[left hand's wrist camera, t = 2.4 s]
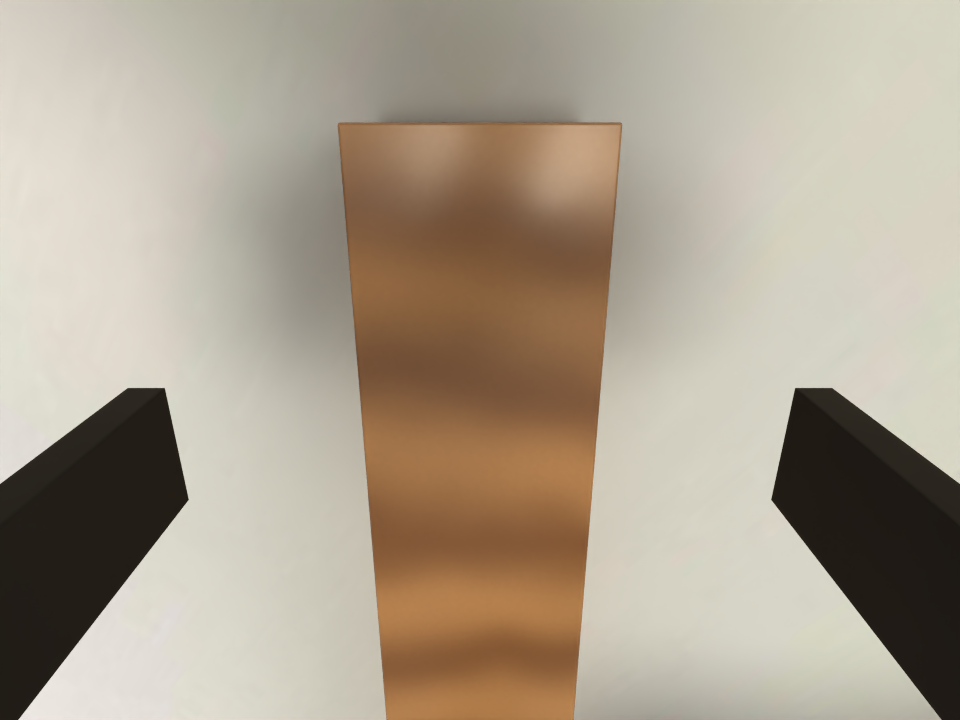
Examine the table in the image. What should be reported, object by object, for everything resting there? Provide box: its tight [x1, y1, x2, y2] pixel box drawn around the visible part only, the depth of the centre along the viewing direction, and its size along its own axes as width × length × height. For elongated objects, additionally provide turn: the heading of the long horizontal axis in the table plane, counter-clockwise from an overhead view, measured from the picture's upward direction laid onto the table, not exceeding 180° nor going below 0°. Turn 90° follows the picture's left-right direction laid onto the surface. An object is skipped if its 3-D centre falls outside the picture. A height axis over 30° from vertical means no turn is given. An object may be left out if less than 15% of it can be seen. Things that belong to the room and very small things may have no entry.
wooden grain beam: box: [338, 123, 622, 720], centre depth 31 cm, size 55×8×7 cm, turn 0°
